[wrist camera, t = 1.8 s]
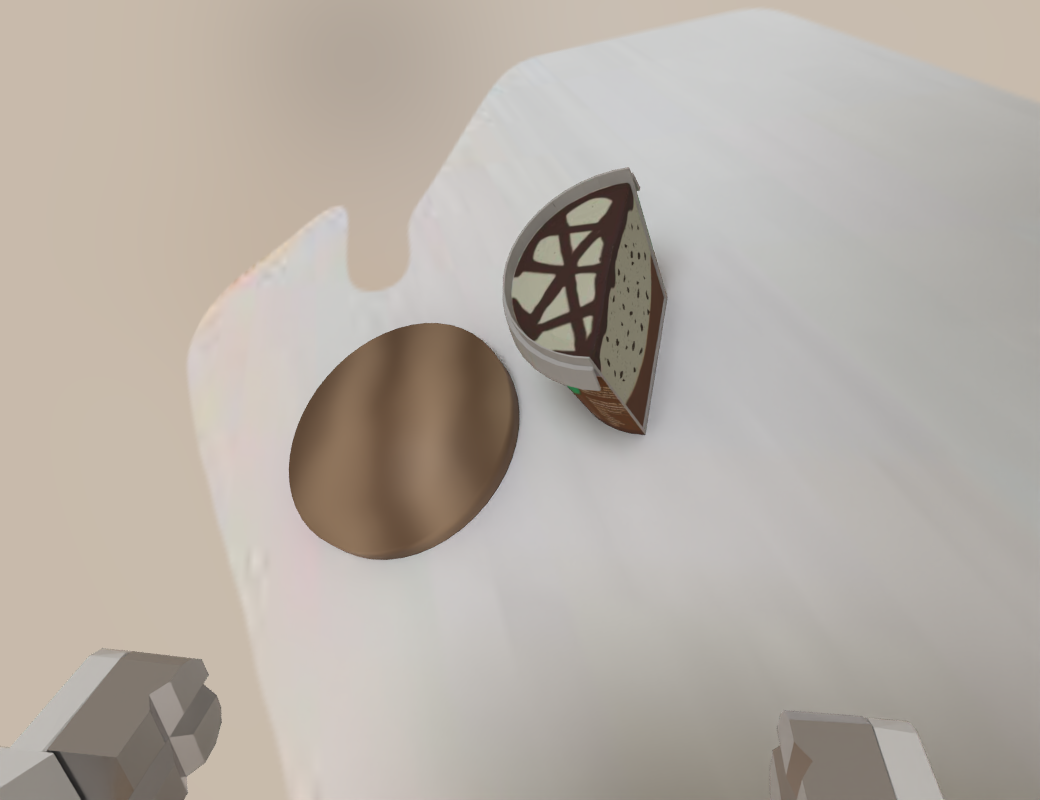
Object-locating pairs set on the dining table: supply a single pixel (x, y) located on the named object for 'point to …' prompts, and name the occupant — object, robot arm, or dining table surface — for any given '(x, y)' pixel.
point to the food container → (590, 298)
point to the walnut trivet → (404, 442)
